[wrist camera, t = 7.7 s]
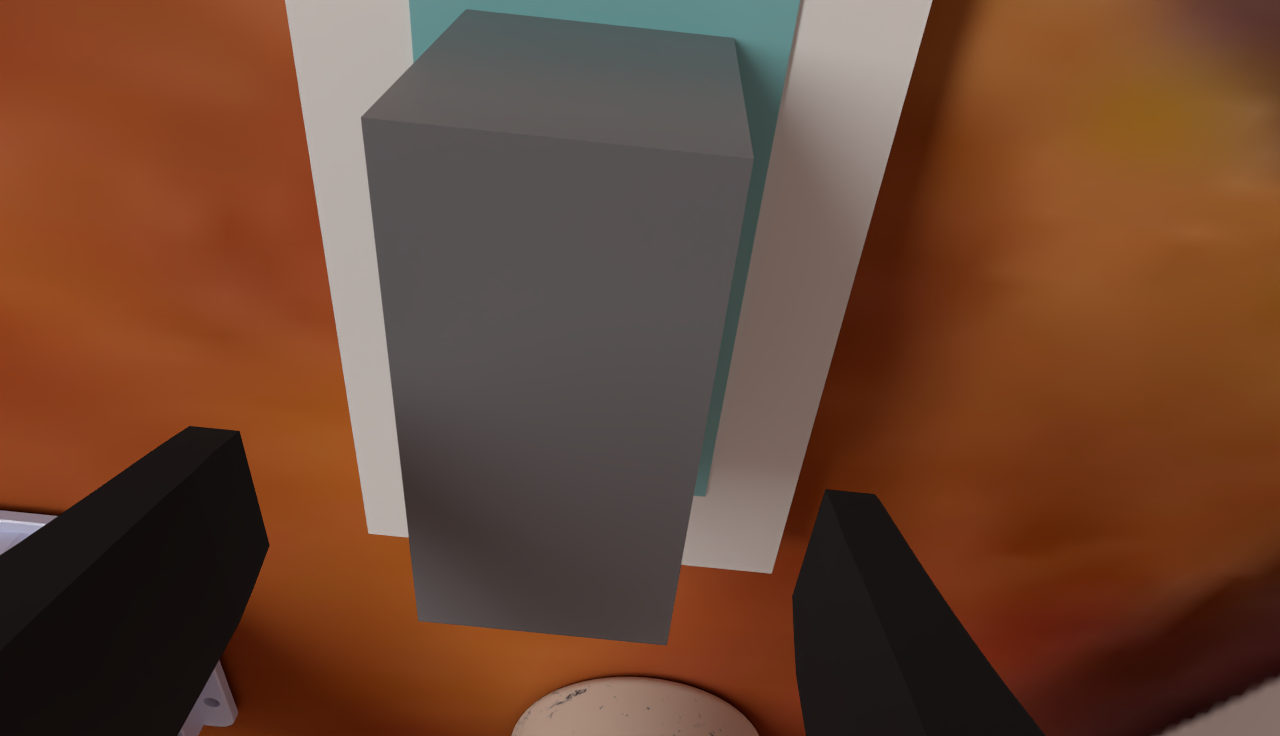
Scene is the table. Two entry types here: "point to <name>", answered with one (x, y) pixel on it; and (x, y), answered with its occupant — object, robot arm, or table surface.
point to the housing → (555, 310)
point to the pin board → (768, 246)
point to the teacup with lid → (632, 711)
